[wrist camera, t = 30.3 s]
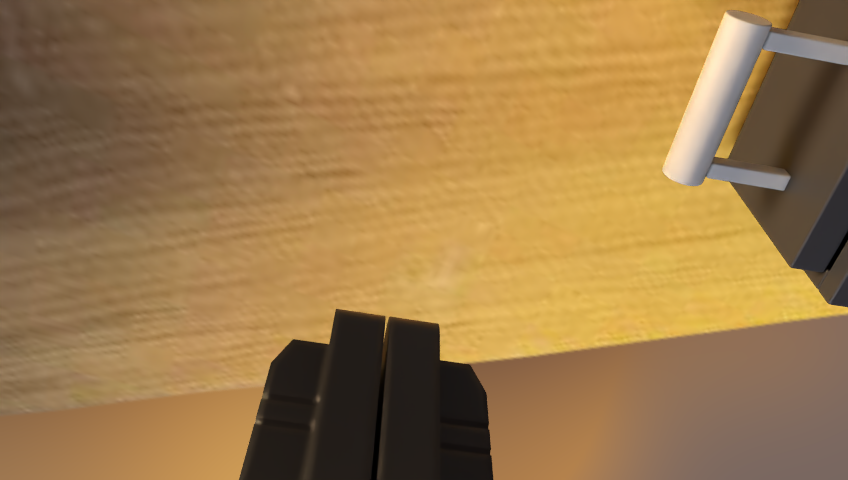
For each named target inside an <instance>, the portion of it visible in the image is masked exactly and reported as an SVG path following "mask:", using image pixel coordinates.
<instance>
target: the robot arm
mask: <svg viewBox="0 0 848 480" xmlns="http://www.w3.org/2000/svg"><path fill="white" fill-rule="evenodd" d="M384 330H385V316H381V315H374V314H367V313H360V312H354V311H347V310H340V309H336V312H335V317H334V322H333V328H332V333H331V339H330V344H322V343H315V342H308V341H301V340H295V339H293V340H292V341H291V342H290V343H289V344H288V345H287V346H286V347H285V349H284V350H283V351H282V352H281V353H280V354H279V355H278V356H277V357H276V358H275V359H274V360H273V361H272V362H271V365H270V369H269V373H268V376H267V380H266V383H265V387H264V391H263V396H262V399H261V402H260V405H259V409H258V413H257V416H256V422H255V424H254V427H253V431H252V434H251V438H250V442H249V445H248V449H247V453H246V456H245V460H244V463H243V467H242V471H241V475H240V478H239V480H493V471H492V458H491V455H490V450H491V445H490V433H489V430H488V425H489V421H488V408H487V395H486V392H485V390H484V388H483V386H482V385H481V383H480V381H479V379H478V378H477V376H476V374H475V372H474V371H473V369H472V367H471V366H470V365H469V364H462V363H455V362H448V361H441V360H440V329H439V324H436V323H429V322H422V321H416V320H409V319H402V318H395V317H389V319H388V323H387V328H386V333H385V338H384ZM383 341H384V343H383Z"/></svg>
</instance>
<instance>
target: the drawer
mask: <svg viewBox="0 0 848 480" xmlns="http://www.w3.org/2000/svg"><path fill="white" fill-rule="evenodd" d="M762 48H763V49H764V50H767V51H773V52H776V54H775V56H774V59H773V61H772V63H771V65H770V67H769V70H768V72H767V74H766V76H765V78H764V81H763V83H762V85H761V87H760V89H759V92H758V94H757V96H756V98H755V100H754V103H753V105H752V107H751V109H750V111H749V114H748V116H747V118H746V120H745V123H744V125H743V127H742V129H741V131H740V134H739V136H738V138H737V140H736V142H735V145H734V147H733V149H732V151H731V153H730V156H729V158H728V159H724V158H718V157H714V156H715V154H716V151H717V149H718V147H719V145H720V142H721V140H722V138H723V136H724V133H725V131H726V129H727V127H728V124H729V122H730V120H731V117H732V115H733V113H734V111H735V108H736V106H737V104H738V102H739V99H740V97H741V95H742V92H743V90H744V88H745V86H746V83H747V81H748V79H749V77H750V74H751V72H752V70H753V68H754V65H755V63H756V61H757V58H758V56H759V54H760V52H761V49H762ZM662 170H663V173H664V174H665V175H666V176H667V177H668V178H670V179H671V180H673V181H675V182H678V183H680V184H684V185H688V186H698V185H701V184H702V183H703V181H704V179H705V176H706V177H707V178H711V179H717V180H723V181H729V182H730V183H731V184H732V186H733V187H734V189H735V190H736V191H737V193H738V194H739V196H740V197H741V199H742V200H743V201H744V203H745V204H746V206H747V207H748V208H749V210H750V211H751V213H752V214H753V215H754V217H755V218H756V220H757V221H758V222H759V224H760V225H761V227H762V228H763V230H764V231H765V232H766V234H767V235H768V237H769V238H770V239H771V241H772V242H773V244H774V245H775V246H776V248H777V249H778V251H779V252H780V253H781V255H782V256H783V258H784V259H785V260H786V262H787V263H788V265H789V266H790V267H791V268H796V269H803V270H809V271H815V272H821V273H822V272H824V271H825V269H826V267H827V266H828V264H829V262H830V261H831V259H832V257H833V256H834V254H835V252H836V250H837V249H838V247H839V245H840V244H841V242H842V240H843V239H844V237H845V235H846V233H847V234H848V0H800V1H799V3H798V6H797V8H796V10H795V12H794V14H793V17H792V19H791V21H790V23H789V25H788V28H787V30H784V29H779V28H774V27H772V23H771V22H769V21H768V20H766V19H764V18H762V17H760V16H757V15H754V14H750V13H747V12H742V11H736V10H728V11H726V12H725V14H724V17H723V19H722V22H721V24H720V27H719V29H718V32H717V34H716V36H715V39H714V41H713V44H712V46H711V49H710V51H709V54H708V56H707V59H706V61H705V64H704V66H703V69H702V71H701V74H700V76H699V79H698V81H697V84H696V86H695V89H694V91H693V94H692V96H691V99H690V101H689V104H688V106H687V109H686V111H685V114H684V116H683V119H682V121H681V124H680V126H679V129H678V131H677V134H676V136H675V139H674V141H673V143H672V146H671V148H670V151H669V153H668V156H667V158H666V161H665V163H664V166H663V169H662Z"/></svg>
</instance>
